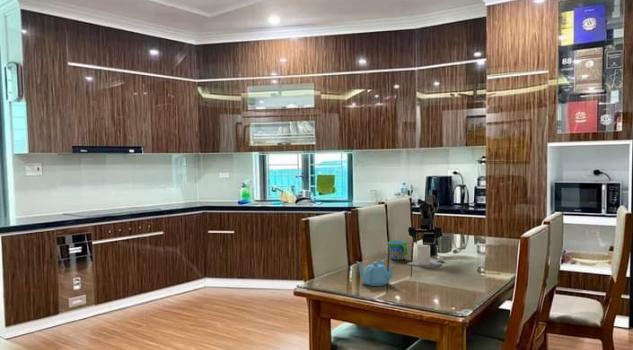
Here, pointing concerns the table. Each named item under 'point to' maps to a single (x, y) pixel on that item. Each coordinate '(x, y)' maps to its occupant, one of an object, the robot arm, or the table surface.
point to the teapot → (375, 274)
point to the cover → (423, 254)
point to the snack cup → (397, 249)
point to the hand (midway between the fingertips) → (424, 243)
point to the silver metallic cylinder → (440, 259)
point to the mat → (431, 265)
